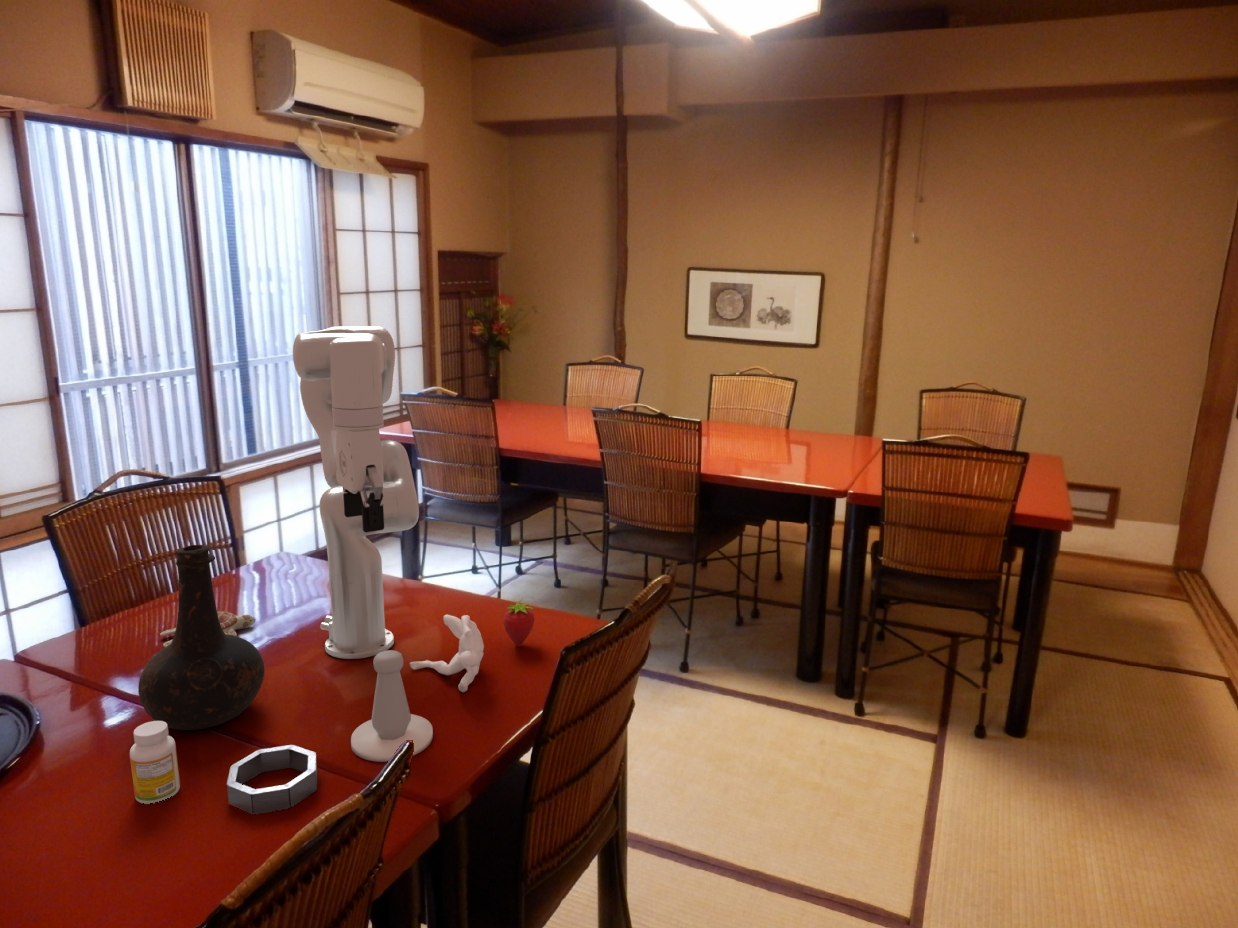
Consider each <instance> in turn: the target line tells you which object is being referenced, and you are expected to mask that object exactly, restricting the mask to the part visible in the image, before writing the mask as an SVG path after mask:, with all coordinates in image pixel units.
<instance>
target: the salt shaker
mask: <svg viewBox="0 0 1238 928" xmlns="http://www.w3.org/2000/svg"><path fill="white" fill-rule="evenodd" d="M372 663H373V668H374V671H375V672H377V676H376V681H375V682H376V683H375V691H374V698H373V706H372V711H371V719H370V720H371V721H372V725H373V728H374V729H375V731H376V732H377V734H378V735H379V736H380V737H381V739H384V740H395V739H397V738H399V737H401V736H404V735H405V732H406V729H407V727H408V725H409V723H410V721H411V714H412V713H411V711H410V707H409V703H408V699H407V694H406V690H405V687H404V683H403V678H402V675H401V669H402V668H403V667H404V657H403V654H402V653H401V652H400V651H397V650H393V649H392V650H389V649H388V650H386V651H382V652H380V653H378V654H377V655H374V658H373V662H372Z"/></svg>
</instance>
